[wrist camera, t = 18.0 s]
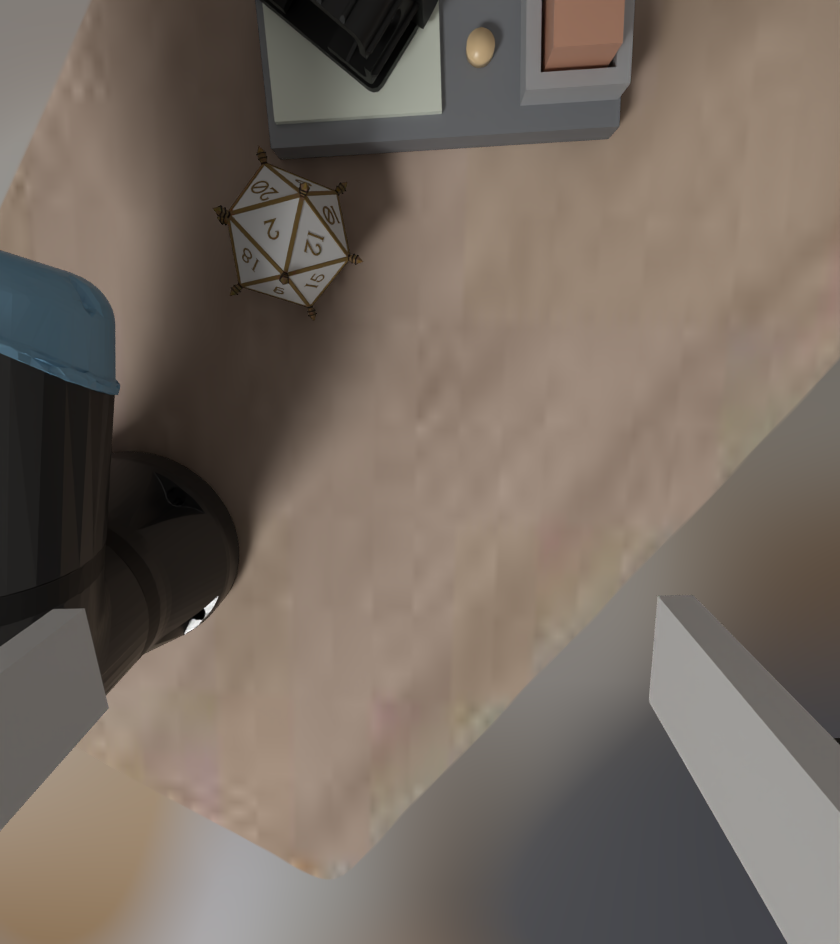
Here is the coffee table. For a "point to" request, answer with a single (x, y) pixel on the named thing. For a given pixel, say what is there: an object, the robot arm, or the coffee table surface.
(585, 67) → the terracotta switch
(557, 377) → the coffee table surface
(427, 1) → the end cap
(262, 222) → the game die
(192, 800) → the coffee table surface
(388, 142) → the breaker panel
